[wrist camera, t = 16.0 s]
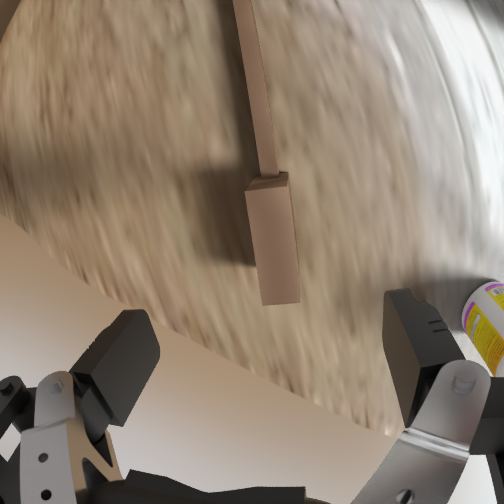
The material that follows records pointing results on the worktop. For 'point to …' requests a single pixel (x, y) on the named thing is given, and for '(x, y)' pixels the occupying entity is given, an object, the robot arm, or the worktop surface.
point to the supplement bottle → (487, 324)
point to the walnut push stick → (267, 181)
